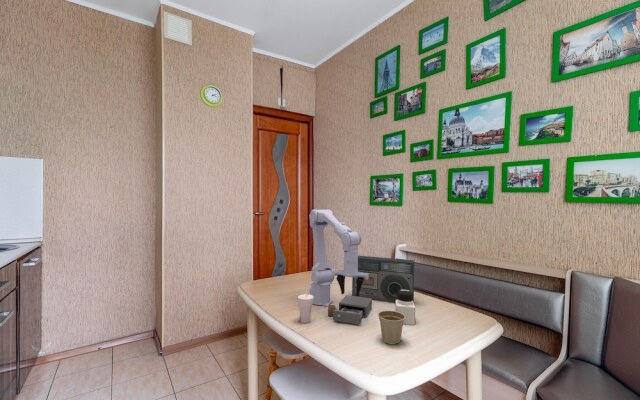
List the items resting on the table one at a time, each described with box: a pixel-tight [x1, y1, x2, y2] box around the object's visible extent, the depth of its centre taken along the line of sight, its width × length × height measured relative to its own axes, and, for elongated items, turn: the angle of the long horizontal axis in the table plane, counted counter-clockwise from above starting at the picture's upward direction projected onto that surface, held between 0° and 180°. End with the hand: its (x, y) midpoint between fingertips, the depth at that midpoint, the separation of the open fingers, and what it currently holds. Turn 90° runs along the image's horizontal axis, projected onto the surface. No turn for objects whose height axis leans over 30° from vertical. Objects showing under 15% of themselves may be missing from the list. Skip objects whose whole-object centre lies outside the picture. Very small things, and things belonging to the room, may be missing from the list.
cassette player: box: [351, 255, 415, 304], centre depth 143 cm, size 29×7×20 cm, turn 68°
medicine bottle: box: [394, 290, 416, 326], centre depth 118 cm, size 7×7×12 cm
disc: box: [343, 309, 357, 313], centre depth 118 cm, size 6×6×2 cm
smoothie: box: [297, 285, 314, 324], centre depth 116 cm, size 6×6×14 cm
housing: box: [338, 294, 373, 319], centre depth 127 cm, size 12×12×4 cm
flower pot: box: [377, 310, 405, 345], centre depth 101 cm, size 9×9×9 cm
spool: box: [327, 304, 337, 318], centre depth 122 cm, size 3×3×4 cm
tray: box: [332, 306, 364, 325], centre depth 119 cm, size 12×11×4 cm
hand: (350, 294), depth 118 cm, fingers open, 6 cm apart
